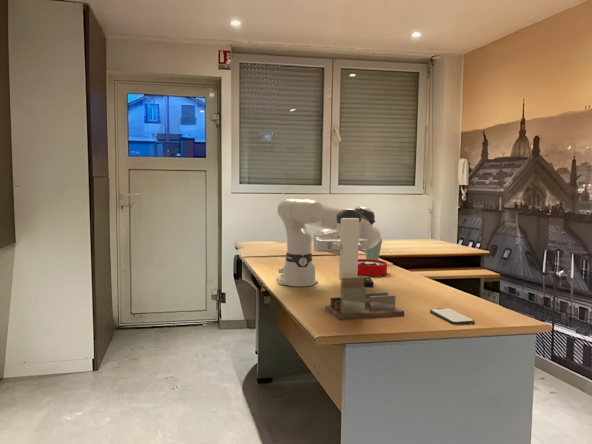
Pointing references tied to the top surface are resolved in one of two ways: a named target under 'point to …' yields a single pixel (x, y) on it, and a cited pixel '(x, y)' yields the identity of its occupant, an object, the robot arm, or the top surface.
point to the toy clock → (371, 267)
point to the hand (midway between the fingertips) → (350, 246)
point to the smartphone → (451, 316)
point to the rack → (368, 307)
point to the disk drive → (367, 281)
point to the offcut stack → (352, 295)
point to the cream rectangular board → (349, 248)
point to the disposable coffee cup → (374, 251)
